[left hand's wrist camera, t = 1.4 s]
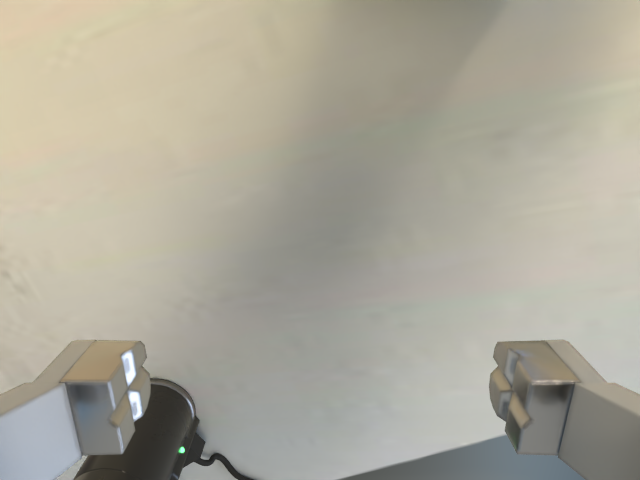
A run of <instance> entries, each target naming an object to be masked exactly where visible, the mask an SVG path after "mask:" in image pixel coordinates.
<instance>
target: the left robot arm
mask: <svg viewBox="0 0 640 480" xmlns="http://www.w3.org/2000/svg"><path fill="white" fill-rule="evenodd" d="M146 358H147V355H146V350H145V345H144V344H143V343H142V342H141V341H116V340H98V341H97V340H76V341H72V342H71V343H70V344H69V345H68V346H67V347H66V348H65V349H64V350H63V351H62V352H61V353H60V354H59V355H58V356H57V357H56V359H55V360H54V361H53V362H52V363H51V364H50V365H49V366H48V367H47V368H46V369H45V370H44V371H43V372H42V373H41V374H40V375H39V376H38V378H37V379H36V380H35V381H34V382H33V383H24V384H22V385H20V386H18V387H15V388H13V389H11V390H9V391H7V392H5V393H3V394H0V480H55V479H56V478H57V477H58V476H60V475H61V474H62V473H63V472H65V471H66V470H67V469H68V468H70V467H71V466H72V465H73V464H74V463H76V462H77V461H78V460H79V459H81V458H82V455H113V454H123V453H124V451H125V449H126V447H127V445H128V443H129V441H130V439H131V438H132V436H133V434H134V432H135V426H134V421H136V420H137V419H139V418H140V417H142V416H143V415H144V413H145V411H146V408H147V406H148V402H149V398H150V394H151V381H150V374H149V373H148V372H147V371H146V370H145V369H144V368H143V367H142V365H143V363H144V361H145V360H146ZM493 358H494V360H495V361H496V363H497V365H498V367H497V368H496V369H495V370H494V371H493V372H492V373H491V374H490V383H489V391H490V399H491V403H492V406H493V409H494V411H495V413H496V415H497V416H498V417H500V418H501V419H503V420H504V421H506V426H505V432H506V434H507V436H508V438H509V439H510V441H511V443H512V445H513V447H514V449H515V451H516V453H517V454H526V455H558V458H560V459H561V460H562V461H563V462H564V463H566V464H567V465H568V466H569V467H571V468H572V469H573V470H574V471H576V472H577V473H578V474H579V475H581V476H582V477H583V478H584V479H585V480H640V395H639V394H637V393H635V392H633V391H631V390H629V389H627V388H625V387H622V386H620V385H618V384H616V383H607V382H606V381H605V380H604V379H603V378H602V376H601V375H600V374H599V373H598V372H597V371H596V370H595V369H594V368H593V367H592V366H591V365H590V364H589V363H588V362H587V361H586V360H585V358H584V357H583V356H582V355H581V354H580V353H579V352H578V351H577V350H576V349H575V348H574V347H573V346H572V345H571V344H570V343H569V342H568V341H565V340H542V341H508V342H497V344H496V346H495V349H494V355H493Z"/></svg>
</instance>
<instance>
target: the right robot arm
mask: <svg viewBox="0 0 640 480" xmlns="http://www.w3.org/2000/svg"><path fill="white" fill-rule="evenodd" d="M150 381H151V394H150V398H149V402H148V406H147V408H146V411H145V413H144V415H143V416H142V417H140V418H139V419H137V420H136V421H134V426H135V432H134V434H133V436H132V438H131V439H130V441H129V443H128V445H127V447H126V449H125V451H124V453H123V454H113V455H88V457H87V458H86V460H85V462H84V463H83V465H82V466H81V468H80V470H79V471H78V473H77V474H76V476H75V478H74V479H73V480H178V479H179V477H180V474H181V471H182V468H184V467H185V466H187V465H189V464H190V463H192V462H196V463H198V464H200V465H202V466H209V465H211V464H212V463H213V462H214V461H215V459H217V460H220V461H221V462H222V463H223V464H224V465H225V467H226V468H227V469H228V471H229V472H230V473H231V474H232V475H233V476H234V477H235V478H236V479H238V480H253V479H249V478H247V477H244V476H242V475H241V474H239V473H238V472H237V471H236V470H235V469H234V468H233V467H232V465H231V464H230V463H229V461H228V460H227V459H226V458H225V457H224V456H222V455H220V454H213V455H212V456H211V457H210V459H209V460H203V459H201V458H200V457H201V454H202V451H203V448H204V445H205V441H204V440H203V439H202V438H201V437H200V436H199V435H198V434H197V433H196V429H197V426H198V423H199V419H198V418H197V417H196V416H195V406H194V403H193V400H192V399H191V397H190V396H189V394H188V393H187V392H186V391H185V390H184V389H183V388H181V387H180V386H178V385H177V384H175V383H172V382H170V381H166V380H162V379H150Z"/></svg>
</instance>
